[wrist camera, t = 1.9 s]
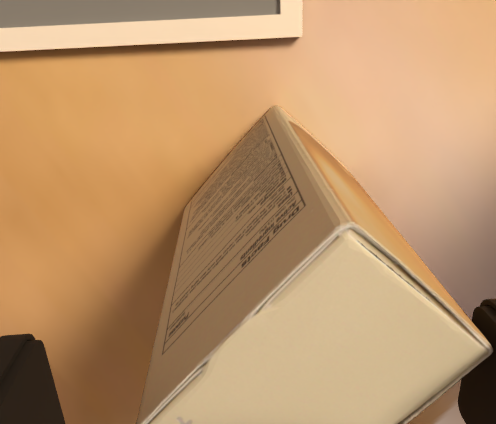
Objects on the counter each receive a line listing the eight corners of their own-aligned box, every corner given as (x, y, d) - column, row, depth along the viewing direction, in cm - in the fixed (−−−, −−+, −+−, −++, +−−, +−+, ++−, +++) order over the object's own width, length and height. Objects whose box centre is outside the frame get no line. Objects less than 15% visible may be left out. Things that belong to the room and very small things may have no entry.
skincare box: (254, 261, 22) (278, 532, 10) (181, 206, 20) (117, 445, 9) (353, 161, 20) (511, 358, 9) (279, 94, 18) (351, 221, 7)
